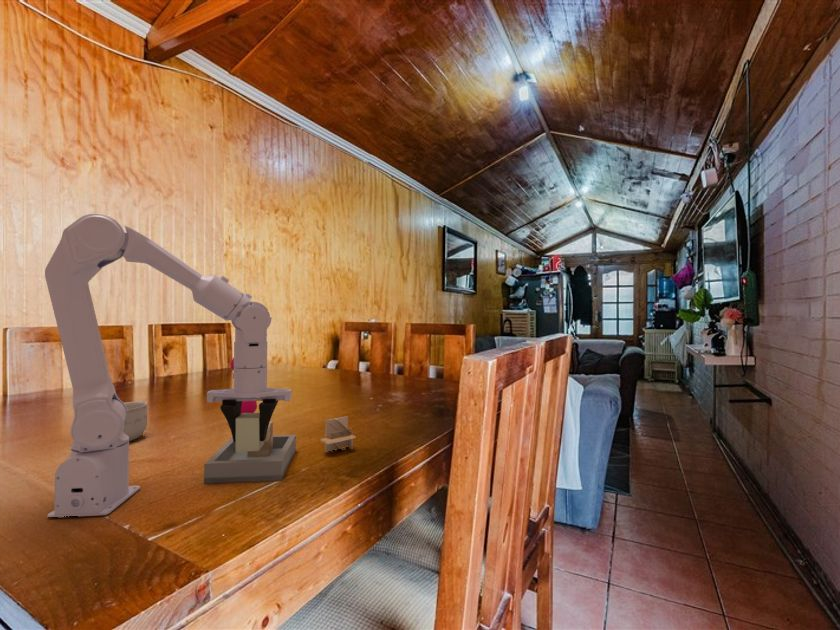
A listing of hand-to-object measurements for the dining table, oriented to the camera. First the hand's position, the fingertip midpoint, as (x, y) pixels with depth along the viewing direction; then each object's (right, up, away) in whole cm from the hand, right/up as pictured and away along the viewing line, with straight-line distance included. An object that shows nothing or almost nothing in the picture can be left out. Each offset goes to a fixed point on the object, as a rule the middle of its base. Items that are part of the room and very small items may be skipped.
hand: (250, 440), depth 77 cm
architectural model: (+14, -7, +13) cm, 20 cm away
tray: (-1, -6, +4) cm, 7 cm away
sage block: (0, -2, 0) cm, 2 cm away
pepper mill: (-16, -6, +34) cm, 38 cm away
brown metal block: (-1, -5, +8) cm, 10 cm away
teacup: (-37, -6, +20) cm, 43 cm away
